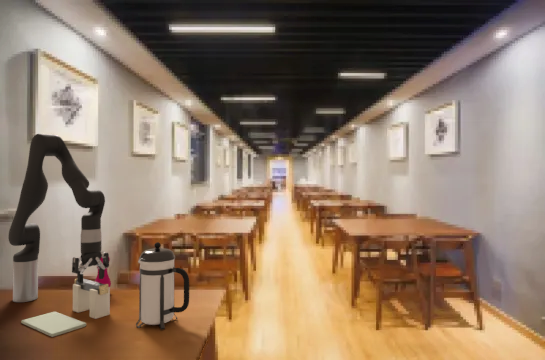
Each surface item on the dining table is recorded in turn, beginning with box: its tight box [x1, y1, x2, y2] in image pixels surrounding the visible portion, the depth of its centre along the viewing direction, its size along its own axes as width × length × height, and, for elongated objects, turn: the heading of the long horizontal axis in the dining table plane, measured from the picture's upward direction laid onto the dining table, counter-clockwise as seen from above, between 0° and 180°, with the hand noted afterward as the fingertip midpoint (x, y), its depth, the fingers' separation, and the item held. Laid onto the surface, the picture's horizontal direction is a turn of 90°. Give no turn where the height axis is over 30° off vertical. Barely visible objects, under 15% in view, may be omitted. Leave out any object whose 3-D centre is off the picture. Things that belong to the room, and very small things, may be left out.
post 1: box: [72, 283, 90, 313], centre depth 158 cm, size 4×6×11 cm, turn 146°
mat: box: [21, 310, 87, 338], centre depth 142 cm, size 22×12×1 cm, turn 56°
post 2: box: [89, 286, 111, 320], centre depth 152 cm, size 4×6×11 cm, turn 146°
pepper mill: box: [94, 250, 112, 288], centre depth 180 cm, size 7×7×20 cm
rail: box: [74, 277, 108, 295], centre depth 155 cm, size 18×3×3 cm, turn 56°
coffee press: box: [135, 241, 190, 331], centre depth 144 cm, size 17×16×30 cm
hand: (91, 281), depth 155 cm, fingers open, 8 cm apart
